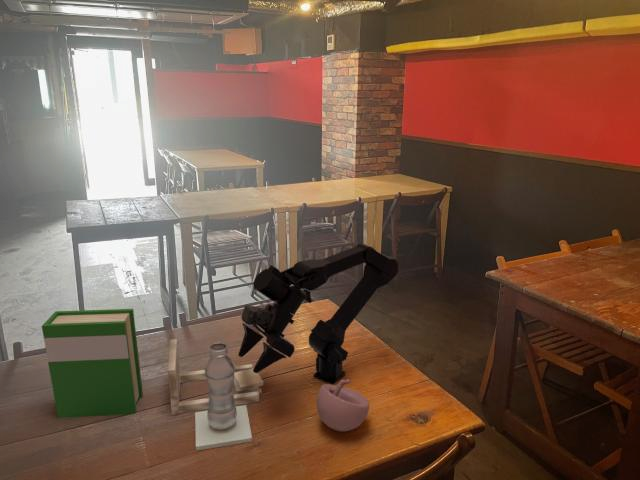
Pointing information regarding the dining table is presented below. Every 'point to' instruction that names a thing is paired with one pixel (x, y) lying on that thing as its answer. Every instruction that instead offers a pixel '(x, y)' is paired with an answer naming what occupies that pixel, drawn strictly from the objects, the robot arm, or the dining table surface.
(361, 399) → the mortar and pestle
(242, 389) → the offcut stack
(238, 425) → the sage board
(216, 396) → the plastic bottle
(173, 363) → the birch rack
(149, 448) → the dining table surface
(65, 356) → the hardback book
